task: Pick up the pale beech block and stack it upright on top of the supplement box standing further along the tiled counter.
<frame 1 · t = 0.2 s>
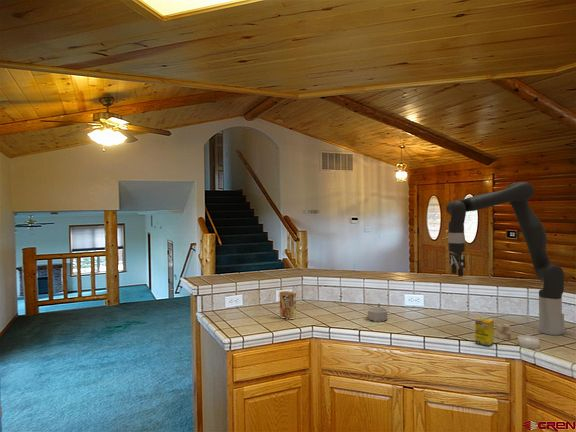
hand: (457, 274, 189), 28 cm above the counter, fingers open, 8 cm apart
white rounded lump: (528, 345, 171), on the counter
supplement box: (484, 344, 174), on the counter
saucepan: (378, 317, 219), on the counter
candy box: (288, 319, 220), on the counter
beech block: (503, 338, 181), on the counter
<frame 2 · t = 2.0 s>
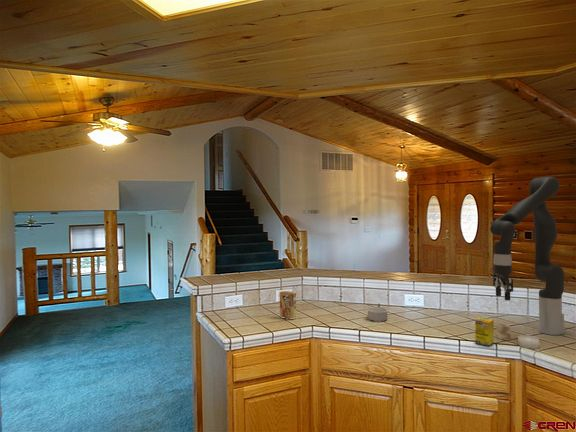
hand: (502, 298, 181), 19 cm above the counter, fingers open, 8 cm apart
nothing on the counter moved.
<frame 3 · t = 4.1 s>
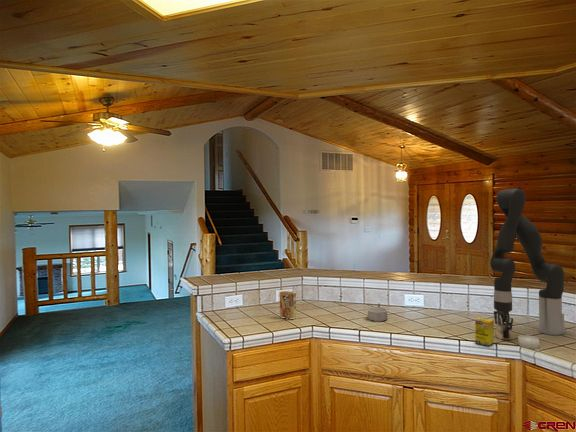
hand: (503, 336, 181), 1 cm above the counter, fingers closed on beech block, 4 cm apart
beech block: (503, 337, 181), on the counter, touching gripper
everything else where it was.
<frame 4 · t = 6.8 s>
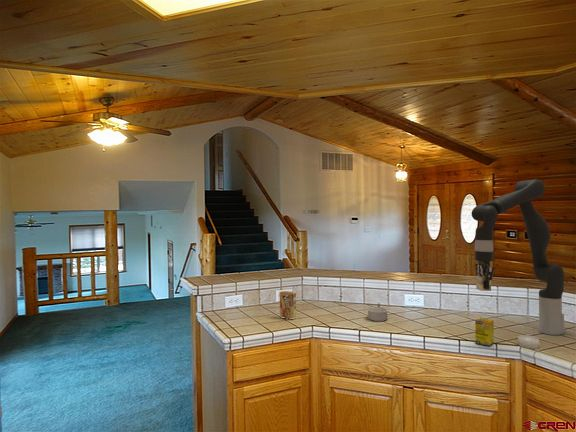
hand: (483, 287, 174), 25 cm above the counter, fingers closed on beech block, 4 cm apart
beech block: (483, 289, 174), point 24 cm above the counter, touching gripper
everything else where it was.
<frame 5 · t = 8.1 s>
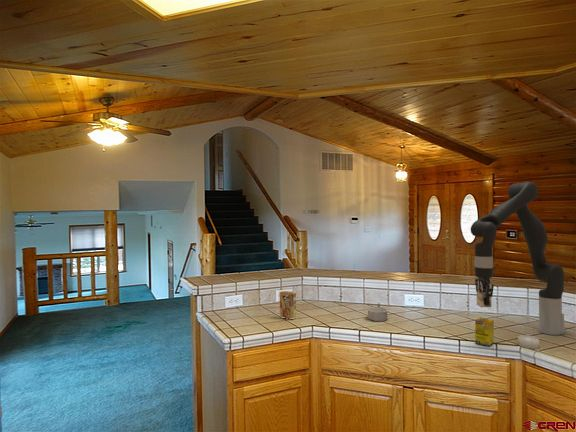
hand: (484, 303, 173), 18 cm above the counter, fingers closed on beech block, 4 cm apart
beech block: (483, 305, 173), point 17 cm above the counter, touching gripper
everything else where it was.
when the fingers open (13 cm above the counter, at t = 9.4 s): beech block drops 1 cm, resting on supplement box.
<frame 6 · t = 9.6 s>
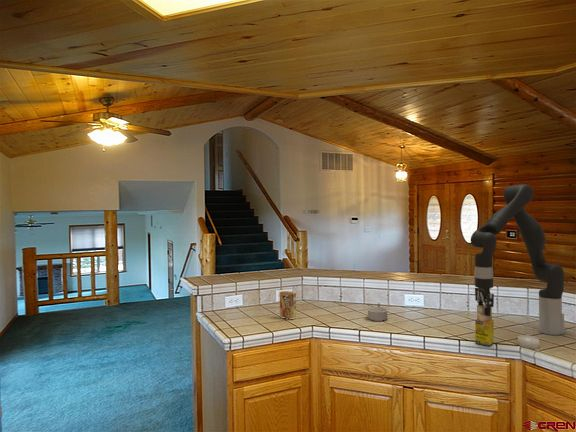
hand: (484, 313, 174), 14 cm above the counter, fingers open, 6 cm apart
supplement box: (484, 344, 174), on the counter, touching beech block
beech block: (484, 319, 173), point 11 cm above the counter, touching supplement box
everything else where it was.
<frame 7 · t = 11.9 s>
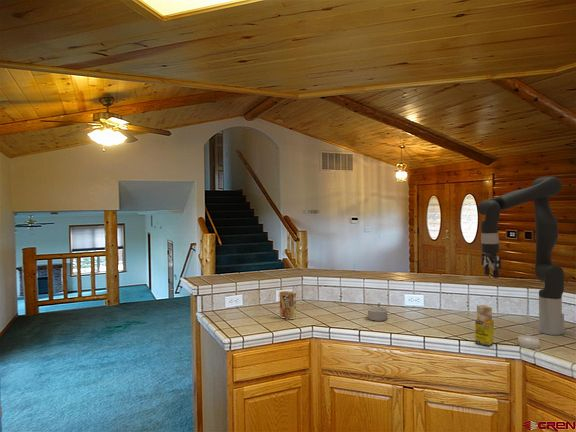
hand: (491, 276, 184), 28 cm above the counter, fingers open, 8 cm apart
nothing on the counter moved.
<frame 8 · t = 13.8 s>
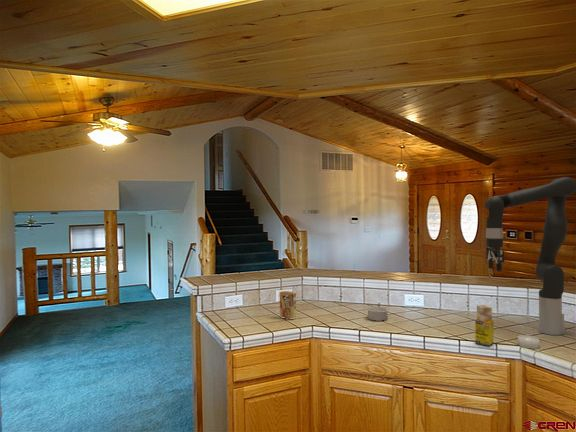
hand: (494, 269, 192), 30 cm above the counter, fingers open, 8 cm apart
at the end: beech block inside the target area on the supplement box (0.1 cm from its centre), point 11.1 cm above the supplement box's base; beech block tilted 0°; supplement box tilted 0° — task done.
